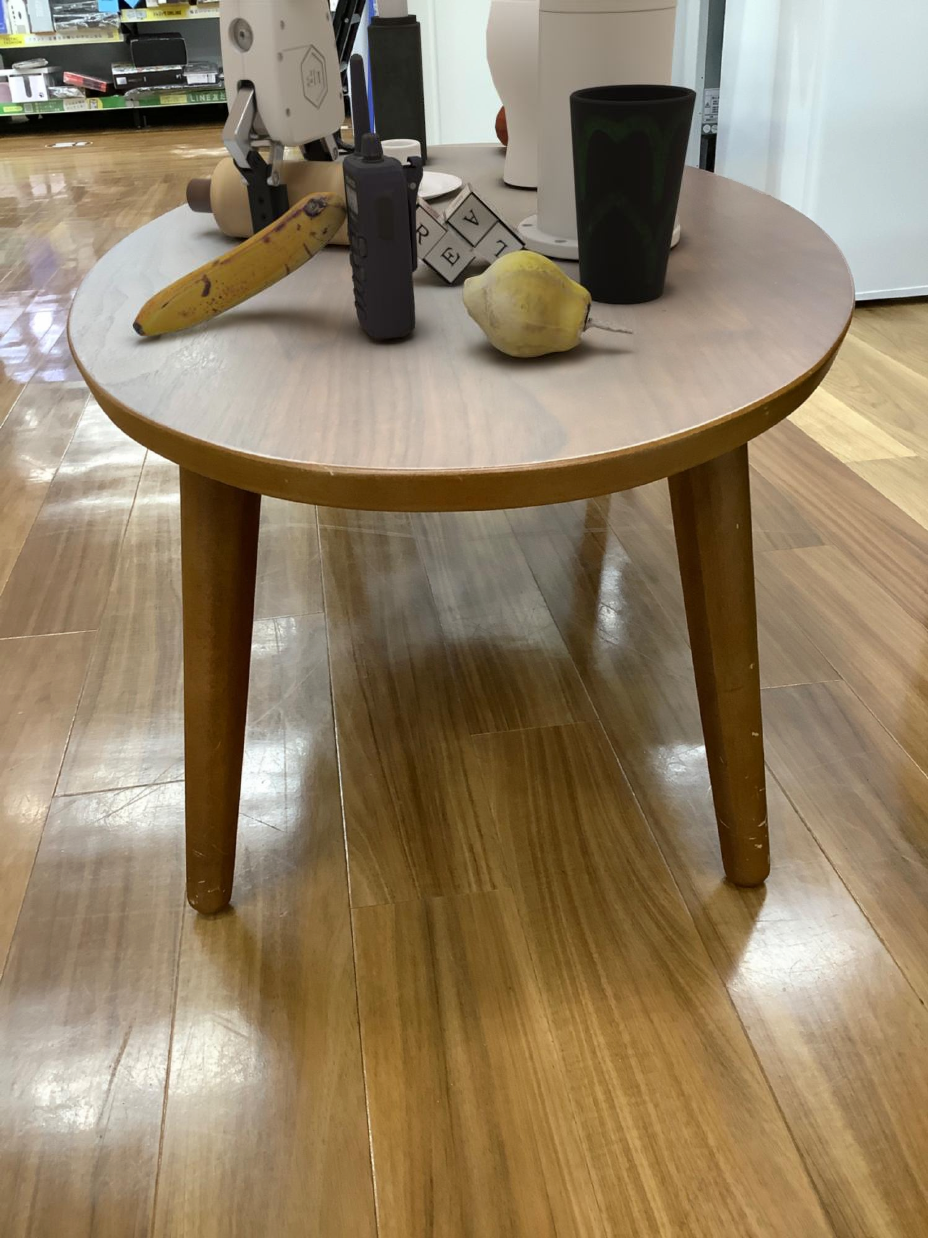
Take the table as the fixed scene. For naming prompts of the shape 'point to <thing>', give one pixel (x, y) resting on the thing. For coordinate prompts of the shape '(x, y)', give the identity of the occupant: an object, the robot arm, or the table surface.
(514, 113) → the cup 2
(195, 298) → the fruit
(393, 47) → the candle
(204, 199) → the rolling pin
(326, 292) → the table surface
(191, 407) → the table surface
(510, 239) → the building blocks
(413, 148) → the candle holder
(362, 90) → the two-way radio
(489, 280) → the fruit
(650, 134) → the cup
